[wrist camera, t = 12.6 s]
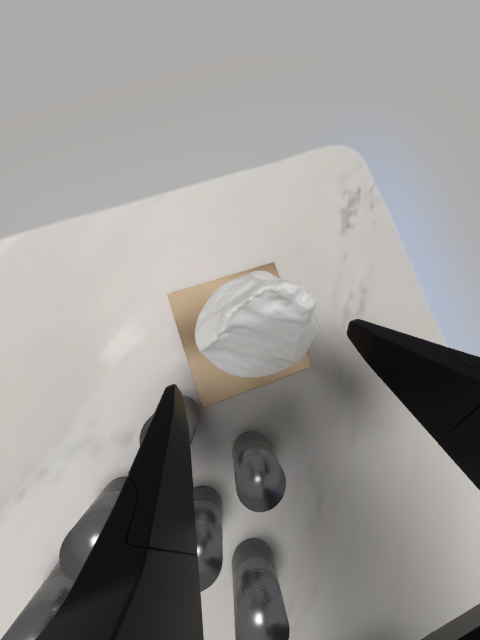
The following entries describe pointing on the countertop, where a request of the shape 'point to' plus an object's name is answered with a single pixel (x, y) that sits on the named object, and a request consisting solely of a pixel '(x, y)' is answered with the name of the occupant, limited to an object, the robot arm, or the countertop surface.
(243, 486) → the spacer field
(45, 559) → the countertop surface
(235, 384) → the mat
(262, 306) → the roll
